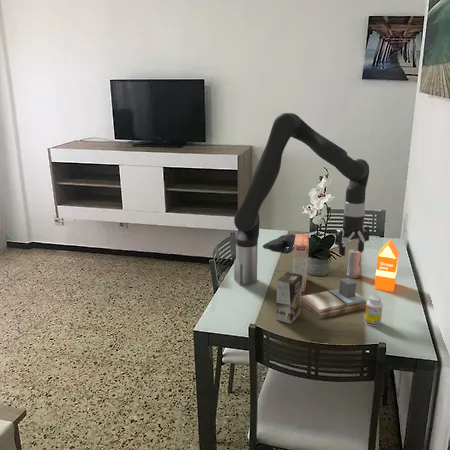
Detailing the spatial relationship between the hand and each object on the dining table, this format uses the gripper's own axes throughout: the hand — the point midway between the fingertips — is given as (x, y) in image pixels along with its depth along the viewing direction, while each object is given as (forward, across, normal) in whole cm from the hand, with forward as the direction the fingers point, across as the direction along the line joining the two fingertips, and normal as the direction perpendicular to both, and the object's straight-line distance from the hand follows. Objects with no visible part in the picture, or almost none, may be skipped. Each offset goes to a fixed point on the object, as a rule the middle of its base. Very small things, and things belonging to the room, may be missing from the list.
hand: (351, 253), depth 182 cm
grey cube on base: (+19, 0, 0) cm, 19 cm away
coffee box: (+20, +28, +1) cm, 35 cm away
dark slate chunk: (+21, -9, -66) cm, 70 cm away
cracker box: (+20, +10, -20) cm, 31 cm away
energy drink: (+20, -17, -19) cm, 33 cm away
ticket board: (+20, +7, 0) cm, 21 cm away
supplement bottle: (+21, +2, +18) cm, 27 cm away
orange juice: (+21, -23, -5) cm, 31 cm away
